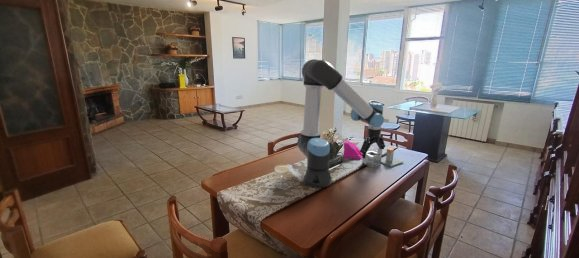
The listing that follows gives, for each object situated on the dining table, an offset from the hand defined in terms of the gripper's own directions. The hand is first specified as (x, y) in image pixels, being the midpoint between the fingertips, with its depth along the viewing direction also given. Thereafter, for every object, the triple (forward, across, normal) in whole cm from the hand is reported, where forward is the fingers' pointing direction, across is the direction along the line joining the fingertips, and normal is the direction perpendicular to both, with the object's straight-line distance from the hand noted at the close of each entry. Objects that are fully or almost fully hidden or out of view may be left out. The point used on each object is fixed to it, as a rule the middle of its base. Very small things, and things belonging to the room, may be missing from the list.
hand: (371, 160), depth 170 cm
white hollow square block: (+2, 0, 0) cm, 2 cm away
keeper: (+2, +12, -4) cm, 13 cm away
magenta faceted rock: (+3, 0, +16) cm, 17 cm away
